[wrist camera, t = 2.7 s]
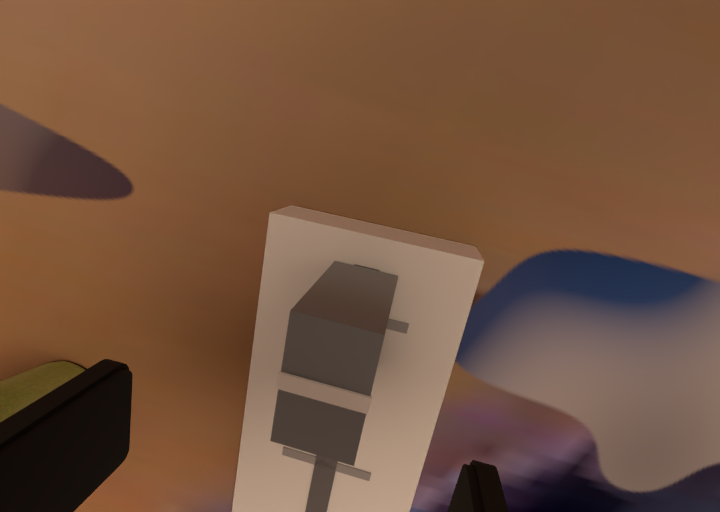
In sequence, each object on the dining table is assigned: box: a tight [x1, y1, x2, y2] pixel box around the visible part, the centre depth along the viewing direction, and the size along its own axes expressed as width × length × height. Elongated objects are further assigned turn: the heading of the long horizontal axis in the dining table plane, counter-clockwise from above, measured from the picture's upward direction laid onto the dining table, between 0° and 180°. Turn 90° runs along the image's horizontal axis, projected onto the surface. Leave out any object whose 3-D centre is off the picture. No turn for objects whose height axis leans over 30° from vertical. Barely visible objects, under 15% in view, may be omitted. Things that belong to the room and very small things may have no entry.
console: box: [232, 205, 484, 512], centre depth 22 cm, size 10×26×3 cm, turn 169°
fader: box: [270, 261, 398, 466], centre depth 15 cm, size 3×5×6 cm, turn 169°
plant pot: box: [0, 361, 85, 422], centre depth 22 cm, size 9×9×9 cm
